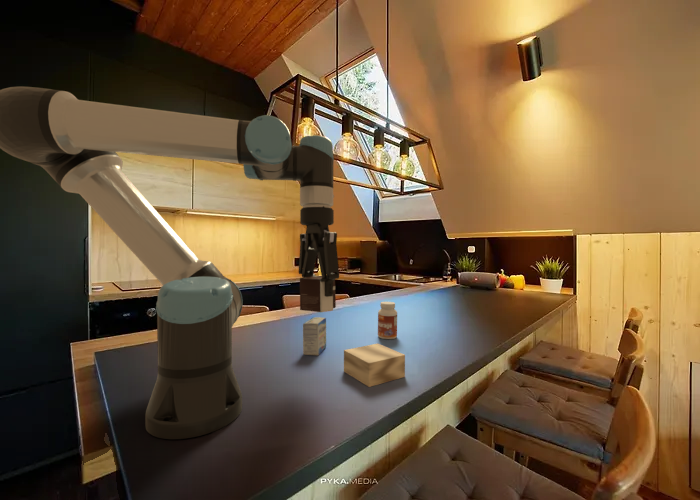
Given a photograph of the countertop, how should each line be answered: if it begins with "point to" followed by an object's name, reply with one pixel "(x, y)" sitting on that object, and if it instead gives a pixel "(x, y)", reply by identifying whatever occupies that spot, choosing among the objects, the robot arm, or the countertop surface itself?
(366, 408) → the countertop surface
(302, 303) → the box
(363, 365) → the beech block
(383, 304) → the pill bottle
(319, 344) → the medicine box
